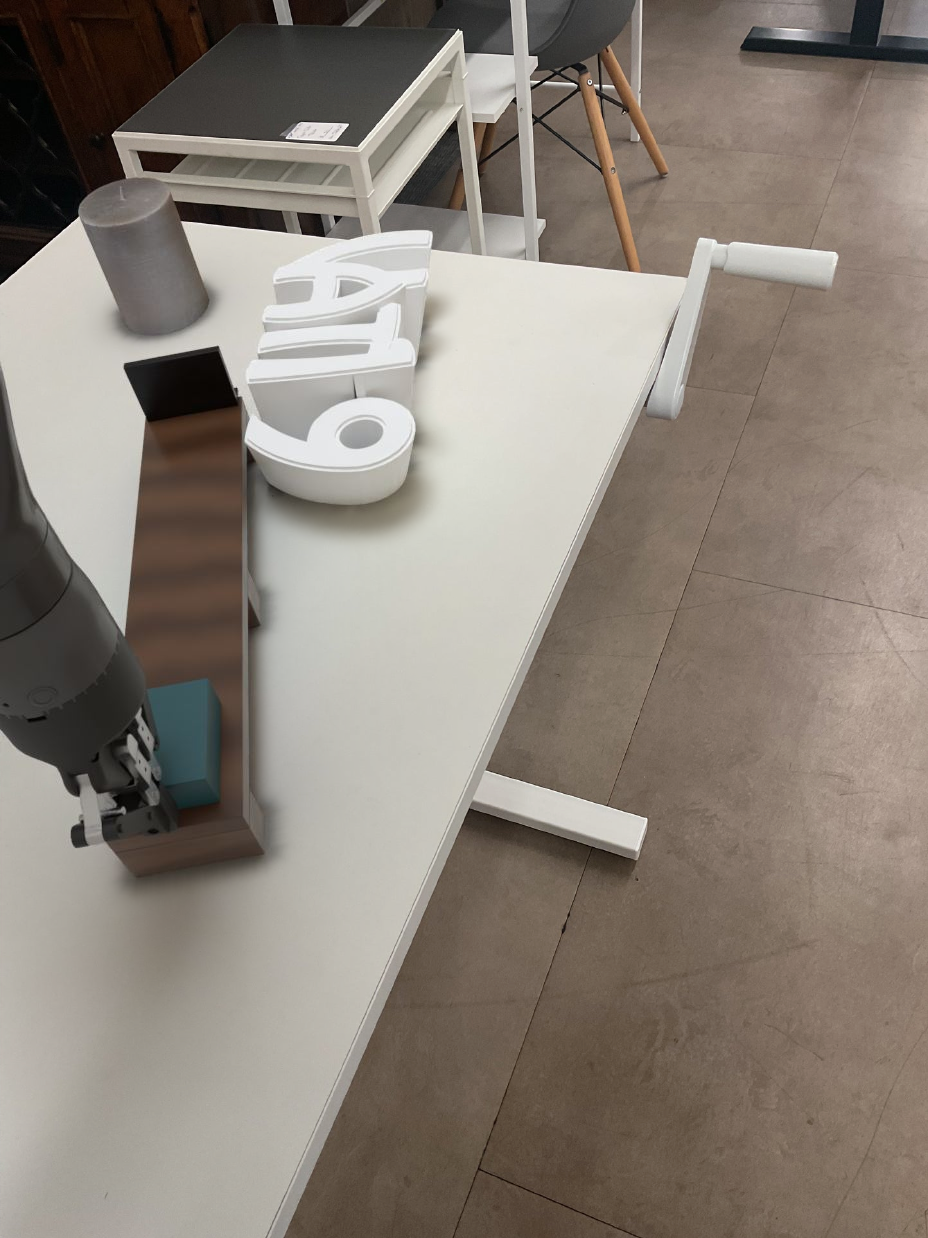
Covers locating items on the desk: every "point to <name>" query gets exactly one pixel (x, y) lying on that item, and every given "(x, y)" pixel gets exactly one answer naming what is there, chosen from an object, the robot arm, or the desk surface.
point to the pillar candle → (144, 255)
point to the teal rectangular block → (188, 741)
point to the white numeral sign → (341, 369)
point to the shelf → (197, 618)
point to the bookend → (182, 383)
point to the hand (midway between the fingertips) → (162, 823)
